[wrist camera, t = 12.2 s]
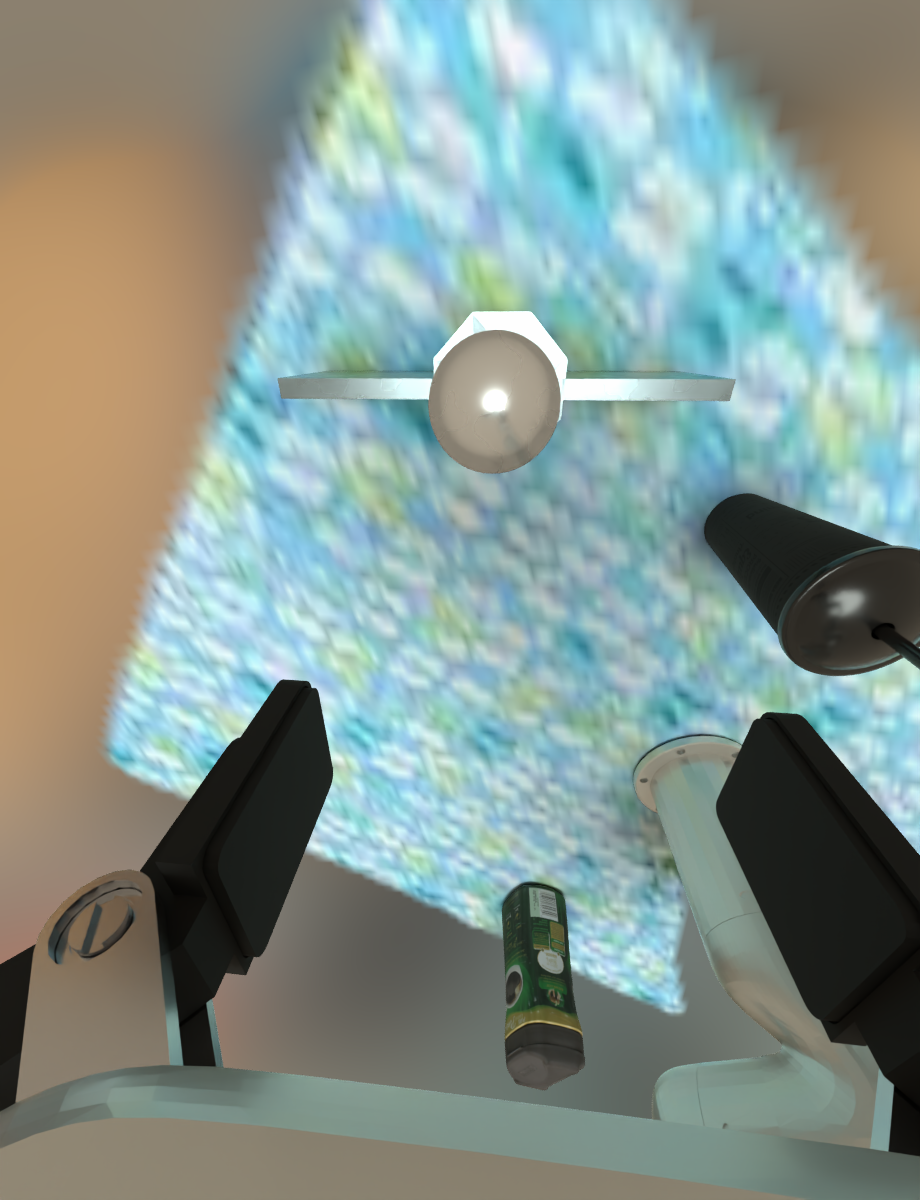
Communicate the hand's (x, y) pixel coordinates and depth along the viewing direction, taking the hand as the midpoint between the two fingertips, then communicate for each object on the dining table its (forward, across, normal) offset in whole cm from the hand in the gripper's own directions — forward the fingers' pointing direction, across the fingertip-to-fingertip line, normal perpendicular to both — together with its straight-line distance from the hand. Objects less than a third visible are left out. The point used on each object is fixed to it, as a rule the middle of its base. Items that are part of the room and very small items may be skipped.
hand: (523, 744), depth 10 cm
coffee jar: (+28, -8, +62) cm, 68 cm away
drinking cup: (+27, -18, +4) cm, 33 cm away
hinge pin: (+27, +1, -6) cm, 27 cm away
